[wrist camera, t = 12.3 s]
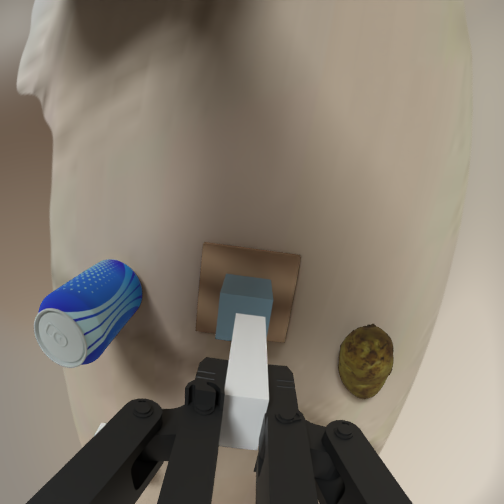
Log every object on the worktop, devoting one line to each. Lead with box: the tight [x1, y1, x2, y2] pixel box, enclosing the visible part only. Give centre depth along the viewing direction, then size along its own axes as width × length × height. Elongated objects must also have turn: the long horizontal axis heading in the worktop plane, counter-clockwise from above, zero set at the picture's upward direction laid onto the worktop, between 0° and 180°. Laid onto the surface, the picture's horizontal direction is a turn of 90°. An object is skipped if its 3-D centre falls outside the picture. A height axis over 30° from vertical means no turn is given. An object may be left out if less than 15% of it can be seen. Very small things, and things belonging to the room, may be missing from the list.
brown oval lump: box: [338, 324, 393, 399], centre depth 40 cm, size 8×13×8 cm, turn 173°
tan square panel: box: [196, 242, 301, 342], centre depth 39 cm, size 12×12×6 cm
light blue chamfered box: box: [215, 274, 273, 341], centre depth 38 cm, size 6×6×7 cm
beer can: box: [34, 259, 142, 368], centre depth 34 cm, size 8×8×16 cm
